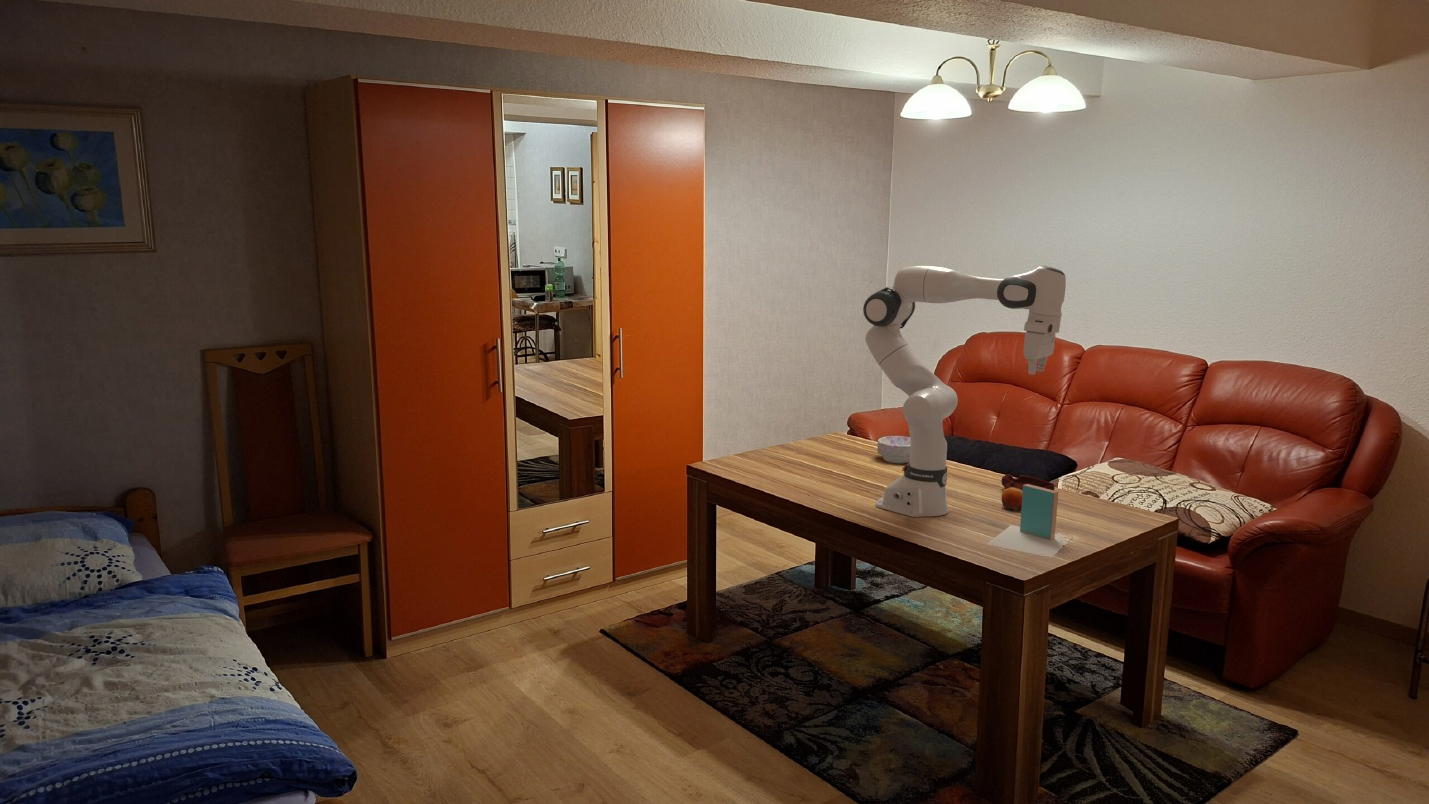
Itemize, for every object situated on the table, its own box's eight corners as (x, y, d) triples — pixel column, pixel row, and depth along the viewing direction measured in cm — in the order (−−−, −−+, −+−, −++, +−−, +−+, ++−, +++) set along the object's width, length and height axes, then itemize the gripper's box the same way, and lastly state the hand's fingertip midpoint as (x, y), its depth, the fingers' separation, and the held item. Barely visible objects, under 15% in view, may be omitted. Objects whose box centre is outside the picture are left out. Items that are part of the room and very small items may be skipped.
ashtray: (1057, 506, 305) (1058, 491, 304) (1004, 502, 308) (1005, 487, 308) (1049, 490, 322) (1051, 476, 321) (999, 487, 326) (1000, 473, 325)
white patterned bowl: (879, 465, 352) (880, 444, 350) (874, 455, 367) (875, 435, 365) (921, 466, 351) (922, 445, 350) (914, 455, 366) (915, 435, 364)
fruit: (995, 506, 298) (1001, 482, 300) (1001, 513, 305) (1006, 490, 307) (1021, 511, 294) (1026, 486, 296) (1026, 518, 300) (1032, 494, 302)
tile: (1050, 540, 271) (1053, 493, 268) (1019, 531, 279) (1022, 485, 276) (1054, 538, 272) (1058, 491, 270) (1023, 529, 280) (1027, 483, 277)
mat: (986, 545, 268) (986, 544, 268) (1011, 526, 284) (1011, 524, 284) (1051, 559, 257) (1051, 557, 257) (1073, 538, 274) (1073, 536, 274)
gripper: (1041, 321, 280) (1033, 368, 283) (1022, 324, 263) (1015, 373, 266) (1063, 324, 277) (1055, 371, 280) (1046, 327, 260) (1038, 377, 262)
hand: (1035, 372), depth 272 cm, fingers open, 8 cm apart
